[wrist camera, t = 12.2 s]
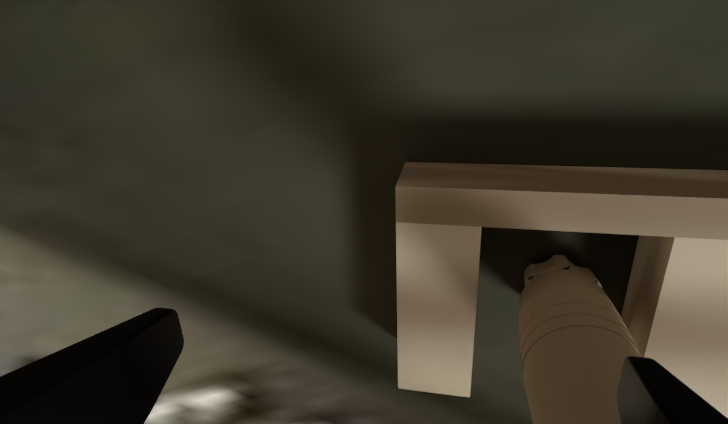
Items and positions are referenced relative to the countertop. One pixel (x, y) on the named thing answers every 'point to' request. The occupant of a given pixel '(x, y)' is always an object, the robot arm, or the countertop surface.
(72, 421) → the robot arm
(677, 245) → the notched rail
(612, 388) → the handle
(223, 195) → the countertop surface
